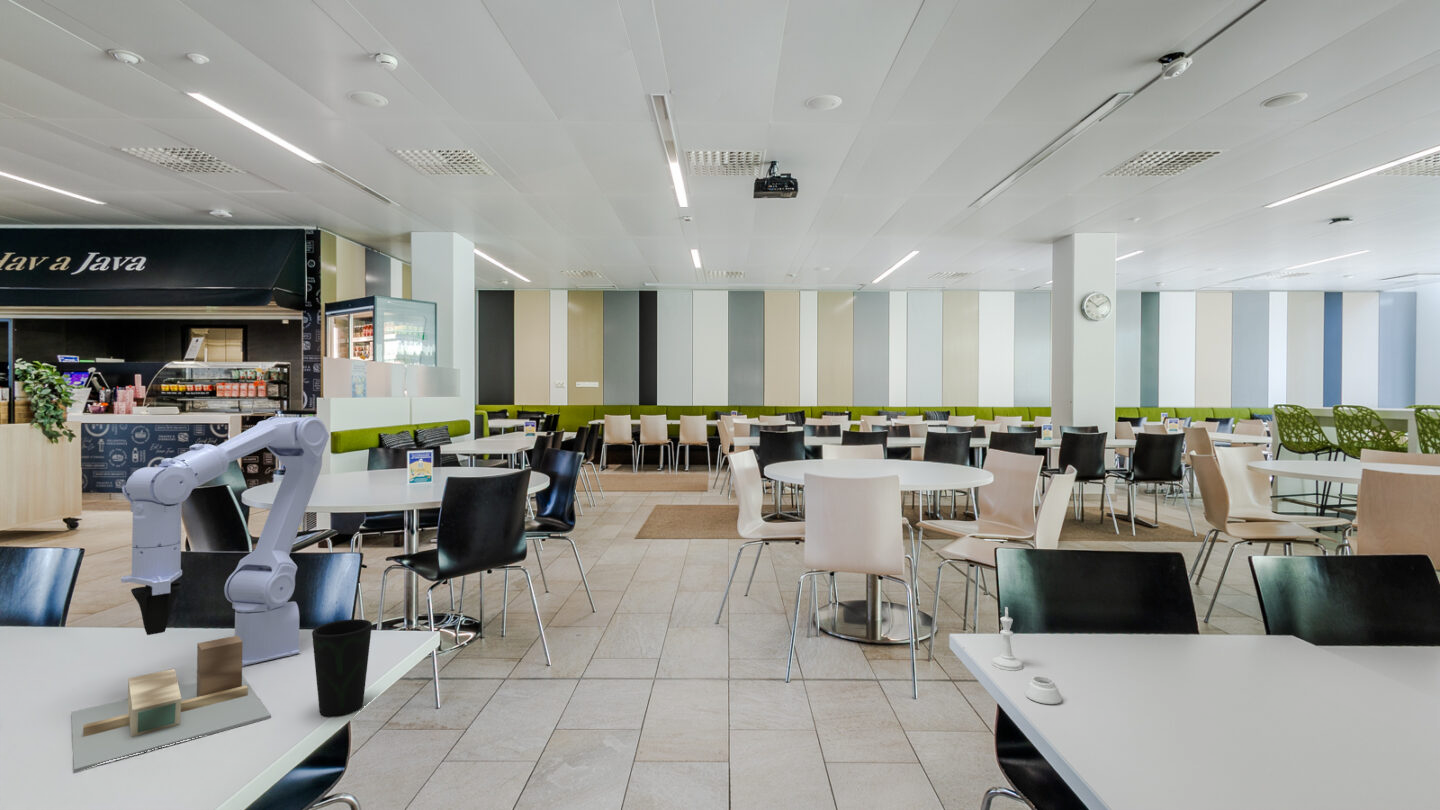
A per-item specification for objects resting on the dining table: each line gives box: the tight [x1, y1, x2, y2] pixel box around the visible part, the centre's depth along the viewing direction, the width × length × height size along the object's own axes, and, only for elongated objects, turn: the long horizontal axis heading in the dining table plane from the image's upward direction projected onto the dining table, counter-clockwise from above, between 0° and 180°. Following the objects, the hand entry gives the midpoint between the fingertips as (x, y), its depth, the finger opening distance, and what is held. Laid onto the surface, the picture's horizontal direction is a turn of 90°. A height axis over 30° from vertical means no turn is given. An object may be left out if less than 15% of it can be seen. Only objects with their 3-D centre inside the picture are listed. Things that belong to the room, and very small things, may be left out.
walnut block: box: [196, 635, 243, 697], centre depth 99 cm, size 5×4×8 cm
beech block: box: [127, 668, 181, 737], centre depth 90 cm, size 5×4×8 cm
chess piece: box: [991, 606, 1024, 671], centre depth 112 cm, size 5×5×10 cm
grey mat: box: [70, 674, 272, 773], centre depth 93 cm, size 20×22×1 cm
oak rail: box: [83, 685, 248, 737], centre depth 93 cm, size 18×1×1 cm, turn 136°
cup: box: [311, 618, 373, 718], centre depth 96 cm, size 8×8×12 cm
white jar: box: [1024, 675, 1063, 705], centre depth 99 cm, size 5×3×5 cm
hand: (155, 632), depth 99 cm, fingers closed
